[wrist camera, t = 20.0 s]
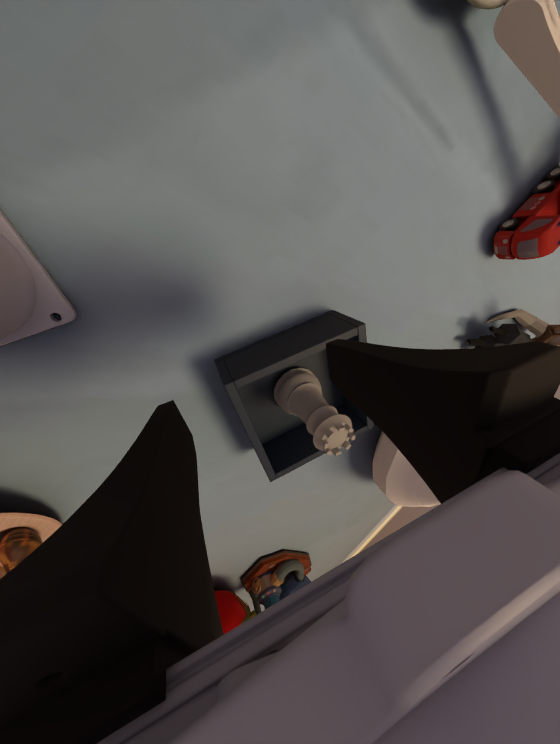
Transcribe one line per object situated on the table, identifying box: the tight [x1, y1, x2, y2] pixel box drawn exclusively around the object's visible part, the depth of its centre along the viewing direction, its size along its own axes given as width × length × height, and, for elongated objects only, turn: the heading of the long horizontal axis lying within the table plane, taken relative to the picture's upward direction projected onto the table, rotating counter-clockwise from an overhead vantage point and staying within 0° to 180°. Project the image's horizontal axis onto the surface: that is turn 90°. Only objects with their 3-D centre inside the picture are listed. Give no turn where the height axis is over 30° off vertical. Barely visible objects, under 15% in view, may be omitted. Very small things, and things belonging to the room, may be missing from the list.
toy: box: [467, 309, 560, 348], centre depth 31 cm, size 10×8×15 cm
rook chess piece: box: [274, 368, 356, 456], centre depth 21 cm, size 4×4×8 cm
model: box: [241, 550, 311, 615], centre depth 36 cm, size 12×9×9 cm
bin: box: [215, 310, 373, 482], centre depth 23 cm, size 11×11×4 cm
